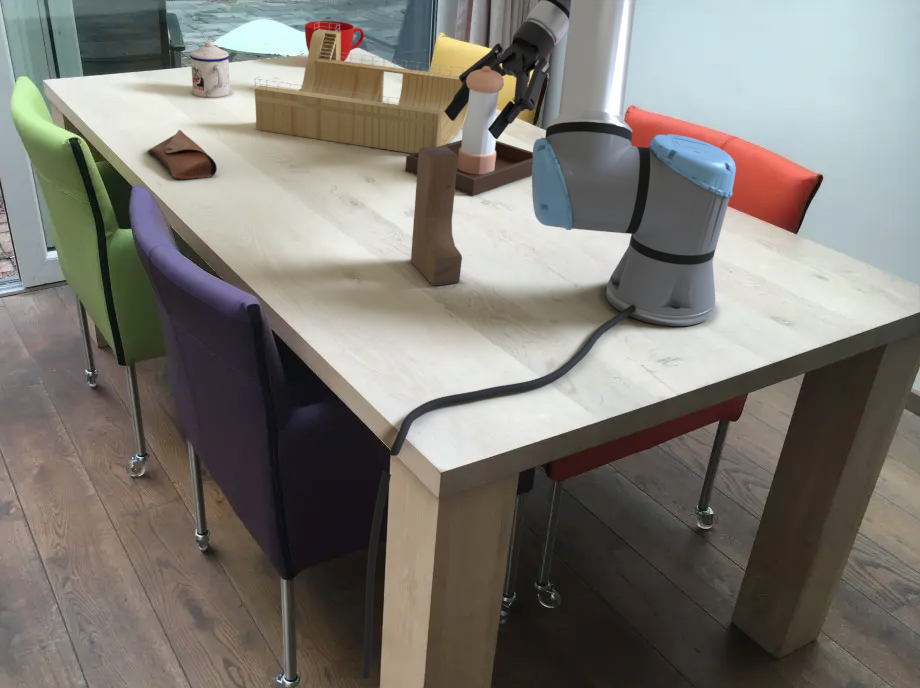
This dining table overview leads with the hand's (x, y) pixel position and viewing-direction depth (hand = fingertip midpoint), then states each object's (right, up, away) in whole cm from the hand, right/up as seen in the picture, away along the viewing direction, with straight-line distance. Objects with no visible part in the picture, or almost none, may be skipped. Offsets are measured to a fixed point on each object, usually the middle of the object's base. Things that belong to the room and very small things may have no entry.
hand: (469, 125), depth 171 cm
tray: (+2, -7, +6) cm, 10 cm away
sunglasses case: (-55, -7, +2) cm, 56 cm away
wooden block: (-9, -33, -33) cm, 48 cm away
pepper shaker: (+2, -7, +6) cm, 9 cm away
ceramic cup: (-29, +39, +75) cm, 89 cm away
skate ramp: (-19, +10, +31) cm, 38 cm away
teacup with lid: (-57, +21, +44) cm, 74 cm away
